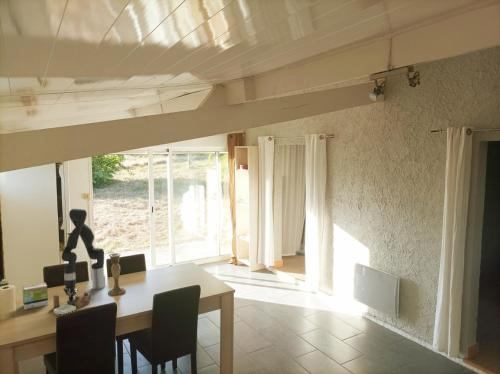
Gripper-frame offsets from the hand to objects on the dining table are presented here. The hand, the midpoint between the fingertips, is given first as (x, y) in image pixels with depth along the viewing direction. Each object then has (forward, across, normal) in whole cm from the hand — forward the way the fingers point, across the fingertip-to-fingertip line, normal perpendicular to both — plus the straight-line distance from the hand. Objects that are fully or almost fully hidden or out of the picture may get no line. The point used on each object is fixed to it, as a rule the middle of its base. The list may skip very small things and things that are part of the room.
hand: (71, 300), depth 270 cm
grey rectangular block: (+2, -5, 0) cm, 6 cm away
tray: (+2, -9, +13) cm, 16 cm away
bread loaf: (+2, +3, +10) cm, 11 cm away
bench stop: (+2, -11, 0) cm, 11 cm away
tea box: (+2, +21, +13) cm, 25 cm away
